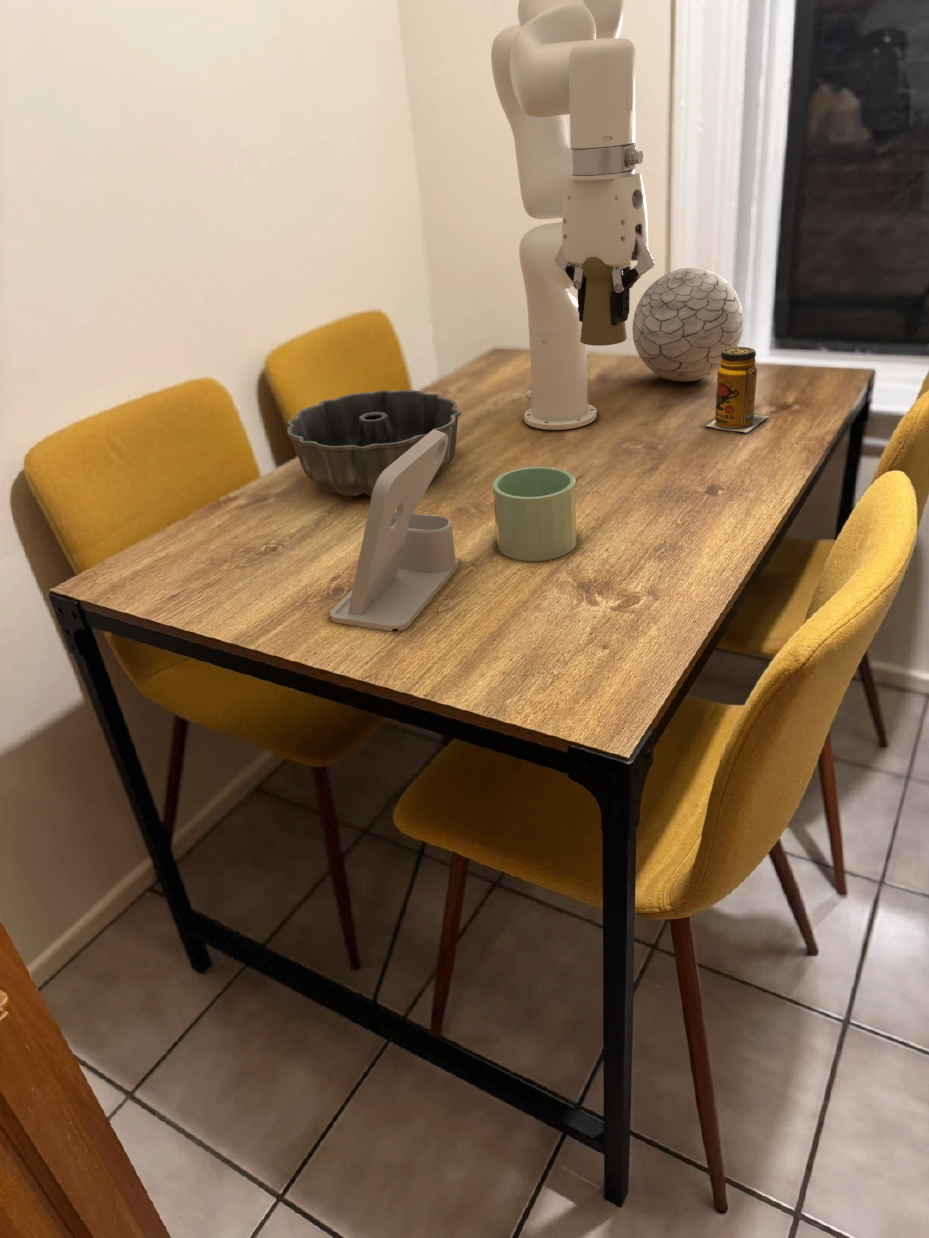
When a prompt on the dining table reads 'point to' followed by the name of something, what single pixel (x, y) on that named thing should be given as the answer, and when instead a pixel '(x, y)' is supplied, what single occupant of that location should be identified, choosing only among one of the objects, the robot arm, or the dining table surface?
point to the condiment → (736, 391)
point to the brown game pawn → (599, 306)
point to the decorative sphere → (687, 324)
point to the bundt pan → (367, 435)
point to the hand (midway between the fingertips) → (603, 319)
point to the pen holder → (535, 513)
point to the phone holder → (401, 545)
